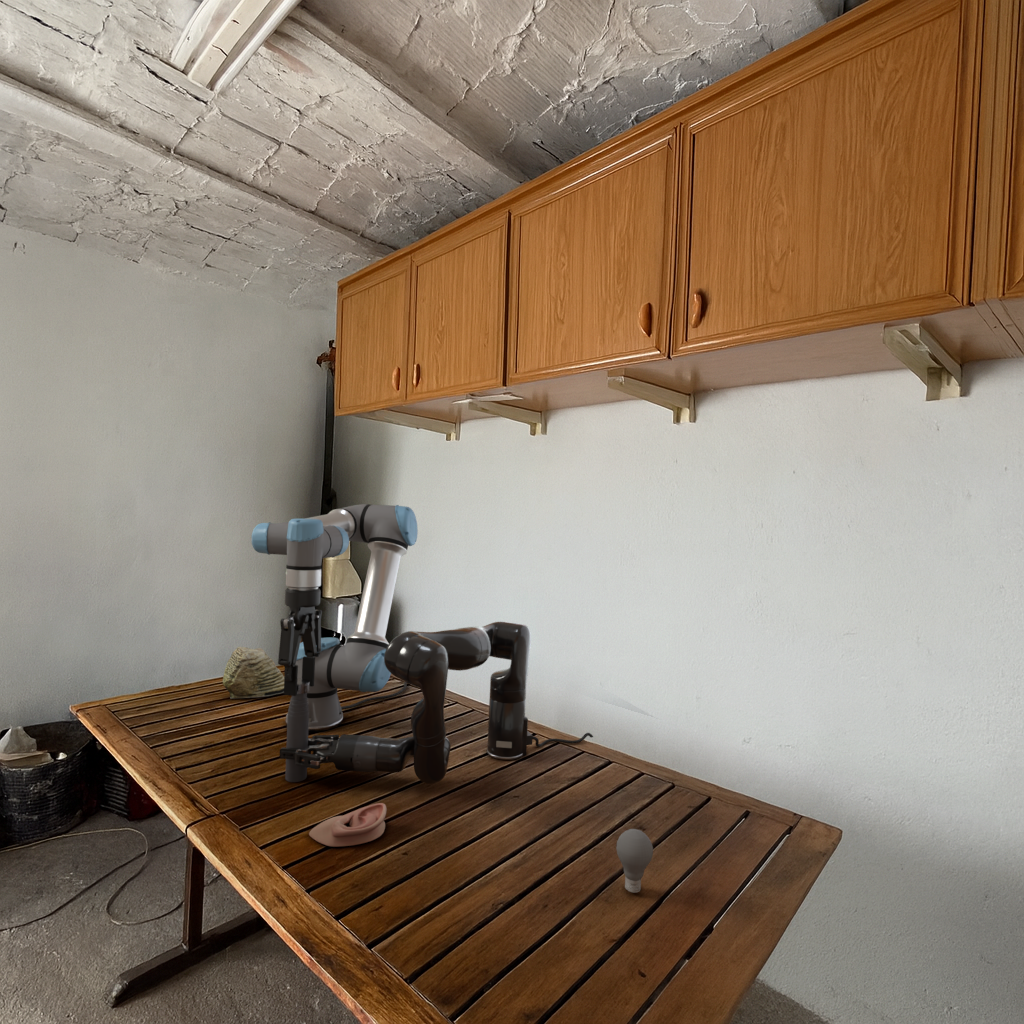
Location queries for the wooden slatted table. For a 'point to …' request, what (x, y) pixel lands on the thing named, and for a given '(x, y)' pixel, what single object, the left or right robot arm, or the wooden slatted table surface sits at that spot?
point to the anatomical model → (352, 827)
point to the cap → (303, 686)
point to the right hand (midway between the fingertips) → (285, 748)
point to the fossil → (252, 674)
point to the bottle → (297, 735)
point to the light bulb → (634, 857)
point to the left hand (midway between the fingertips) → (299, 689)
